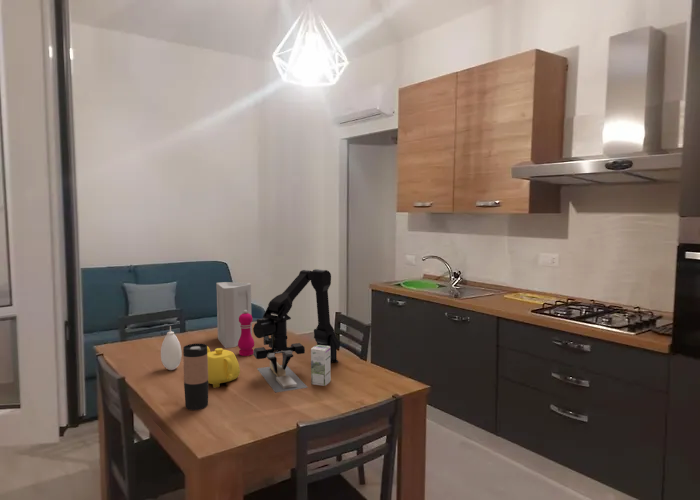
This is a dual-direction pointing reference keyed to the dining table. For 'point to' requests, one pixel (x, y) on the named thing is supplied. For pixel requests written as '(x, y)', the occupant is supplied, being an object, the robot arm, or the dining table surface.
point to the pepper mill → (245, 335)
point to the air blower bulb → (171, 351)
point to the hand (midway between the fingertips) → (279, 372)
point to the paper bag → (231, 310)
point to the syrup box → (320, 365)
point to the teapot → (221, 366)
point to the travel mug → (195, 376)
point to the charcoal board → (274, 384)
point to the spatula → (283, 377)
